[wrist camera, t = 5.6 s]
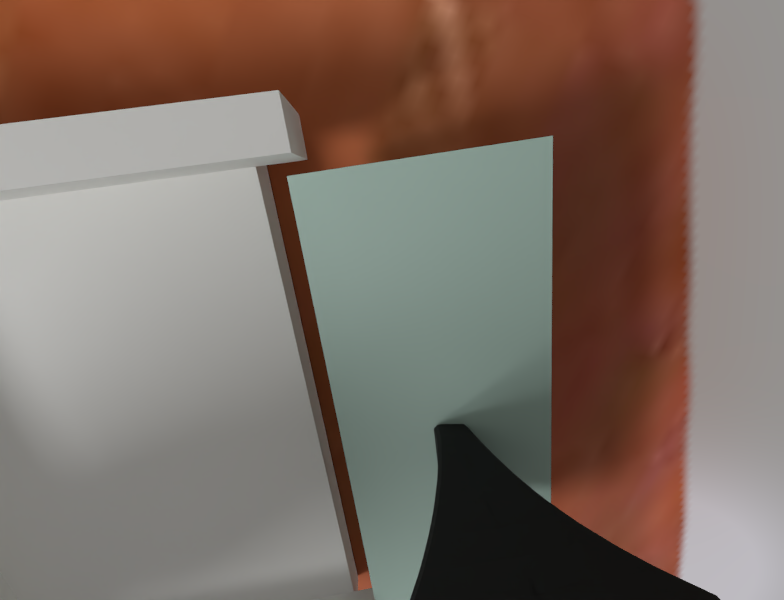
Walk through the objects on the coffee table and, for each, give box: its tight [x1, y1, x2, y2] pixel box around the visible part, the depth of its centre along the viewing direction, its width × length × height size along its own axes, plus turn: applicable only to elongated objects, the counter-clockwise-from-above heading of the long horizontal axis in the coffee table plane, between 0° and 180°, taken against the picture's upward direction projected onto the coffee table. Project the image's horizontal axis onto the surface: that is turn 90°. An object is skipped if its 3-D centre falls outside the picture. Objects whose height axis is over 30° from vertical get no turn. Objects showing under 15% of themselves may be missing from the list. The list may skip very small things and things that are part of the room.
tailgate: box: [287, 136, 553, 600], centre depth 12 cm, size 1×17×6 cm
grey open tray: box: [0, 90, 375, 600], centre depth 13 cm, size 16×20×4 cm
